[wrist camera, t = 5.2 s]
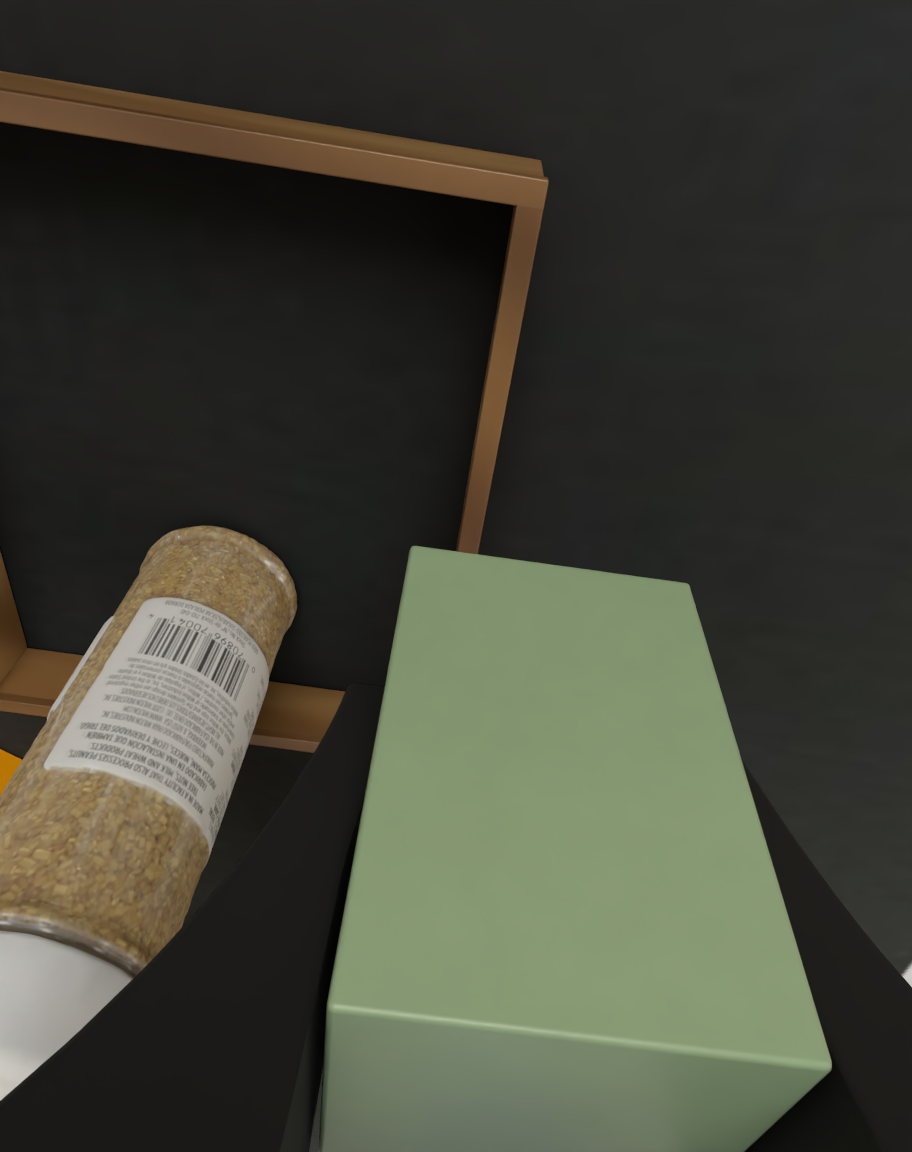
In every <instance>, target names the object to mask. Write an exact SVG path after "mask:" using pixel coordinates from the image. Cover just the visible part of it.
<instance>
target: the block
mask: <svg viewBox="0 0 912 1152" xmlns="http://www.w3.org/2000/svg"><path fill="white" fill-rule="evenodd" d="M831 1068H832V1061H831V1058H830V1054H829V1051H828V1048H827V1044H826V1041H825V1038H824V1034H823V1031H822V1028H821V1024H820V1021H819V1017H818V1014H817V1011H816V1007H815V1004H814V1001H813V997H812V994H811V991H810V987H809V984H808V981H807V977H806V974H805V971H804V967H803V964H802V961H801V957H800V954H799V951H798V947H797V944H796V941H795V937H794V934H793V931H792V927H791V924H790V921H789V917H788V914H787V911H786V907H785V904H784V901H783V897H782V894H781V890H780V887H779V884H778V880H777V877H776V874H775V870H774V867H773V864H772V860H771V857H770V854H769V850H768V847H767V844H766V840H765V837H764V834H763V830H762V827H761V824H760V820H759V817H758V814H757V810H756V807H755V804H754V800H753V797H752V794H751V790H750V787H749V784H748V780H747V777H746V773H745V770H744V767H743V763H742V760H741V757H740V753H739V750H738V747H737V743H736V740H735V737H734V733H733V730H732V727H731V723H730V720H729V717H728V713H727V710H726V707H725V703H724V700H723V697H722V693H721V690H720V687H719V683H718V680H717V677H716V673H715V670H714V667H713V663H712V660H711V657H710V653H709V650H708V646H707V643H706V640H705V636H704V633H703V630H702V626H701V623H700V620H699V616H698V613H697V610H696V606H695V603H694V600H693V596H692V593H691V590H690V586H689V585H688V584H687V583H682V582H675V581H667V580H660V579H653V578H646V577H638V576H631V575H624V574H617V573H609V572H602V571H595V570H588V569H580V568H573V567H566V566H559V565H551V564H544V563H537V562H530V561H522V560H515V559H508V558H501V557H493V556H486V555H479V554H472V553H464V552H457V551H450V550H443V549H436V548H428V547H421V546H412V547H411V549H410V552H409V557H408V563H407V568H406V574H405V579H404V585H403V590H402V596H401V601H400V606H399V612H398V617H397V623H396V628H395V634H394V639H393V645H392V650H391V656H390V661H389V667H388V672H387V677H386V683H385V688H384V694H383V699H382V705H381V710H380V716H379V721H378V727H377V732H376V738H375V743H374V749H373V754H372V759H371V765H370V770H369V776H368V781H367V787H366V792H365V798H364V803H363V809H362V814H361V820H360V825H359V830H358V836H357V841H356V847H355V852H354V858H353V863H352V869H351V874H350V880H349V885H348V891H347V896H346V902H345V907H344V912H343V918H342V923H341V929H340V934H339V940H338V945H337V951H336V956H335V962H334V967H333V973H332V978H331V983H330V989H329V994H328V1000H327V1008H326V1026H325V1045H324V1063H323V1081H322V1099H321V1117H320V1135H319V1152H745V1151H746V1150H747V1149H748V1148H749V1147H750V1146H751V1145H752V1144H753V1143H754V1142H755V1141H756V1140H757V1139H758V1138H760V1137H761V1136H762V1135H763V1134H764V1133H765V1132H766V1131H767V1130H768V1129H769V1128H770V1127H771V1126H772V1125H773V1124H774V1123H776V1122H777V1121H778V1120H779V1119H780V1118H781V1117H782V1116H783V1115H784V1114H785V1113H786V1112H787V1111H788V1110H789V1109H791V1108H792V1107H793V1106H794V1105H795V1104H796V1103H797V1102H798V1101H799V1100H800V1099H801V1098H802V1097H803V1096H804V1095H805V1094H807V1093H808V1092H809V1091H810V1090H811V1089H812V1088H813V1087H814V1086H815V1085H816V1084H817V1083H818V1082H819V1081H820V1080H821V1079H823V1078H824V1077H825V1076H826V1075H827V1074H828V1073H829V1072H830V1071H831Z"/></svg>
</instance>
